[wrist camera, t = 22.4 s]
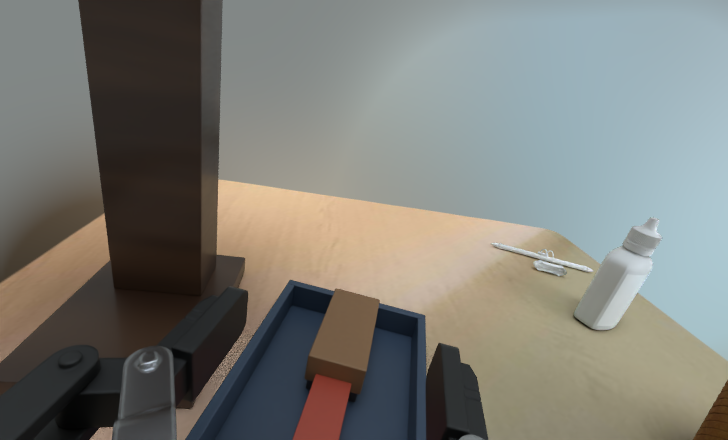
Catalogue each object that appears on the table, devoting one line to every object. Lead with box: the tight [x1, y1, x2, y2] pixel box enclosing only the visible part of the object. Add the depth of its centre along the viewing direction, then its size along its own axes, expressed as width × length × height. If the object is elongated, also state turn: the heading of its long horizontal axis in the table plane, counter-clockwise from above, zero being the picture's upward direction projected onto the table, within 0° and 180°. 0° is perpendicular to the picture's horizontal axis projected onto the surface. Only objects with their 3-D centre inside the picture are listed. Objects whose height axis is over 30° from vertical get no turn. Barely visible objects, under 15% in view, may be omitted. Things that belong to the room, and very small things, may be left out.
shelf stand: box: [0, 0, 245, 408], centre depth 18 cm, size 14×10×32 cm
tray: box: [185, 280, 426, 440], centre depth 18 cm, size 21×11×3 cm, turn 171°
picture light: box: [491, 243, 593, 276], centre depth 46 cm, size 14×4×2 cm, turn 78°
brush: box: [292, 289, 380, 440], centre depth 19 cm, size 17×4×3 cm, turn 171°
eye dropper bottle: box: [574, 217, 662, 330], centre depth 34 cm, size 4×6×12 cm
